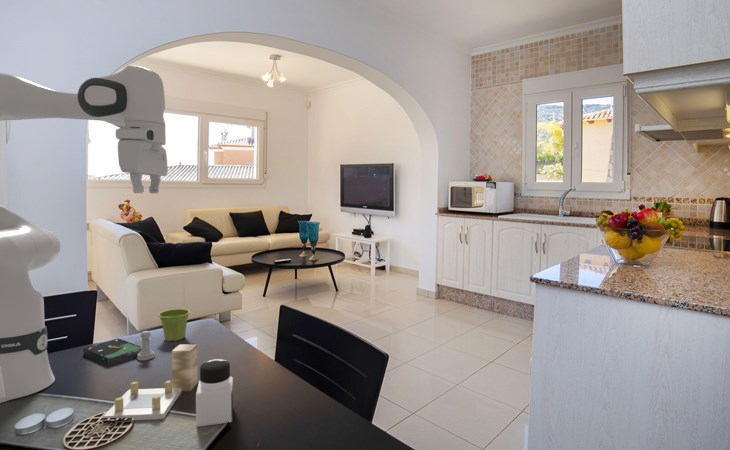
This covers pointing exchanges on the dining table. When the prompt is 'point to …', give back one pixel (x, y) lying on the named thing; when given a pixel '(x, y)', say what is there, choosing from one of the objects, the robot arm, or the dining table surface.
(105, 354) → the disk drive
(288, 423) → the dining table surface
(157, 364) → the dining table surface
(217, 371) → the medicine bottle
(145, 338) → the chess piece
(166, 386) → the white pegged board
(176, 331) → the plant pot
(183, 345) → the maple block
